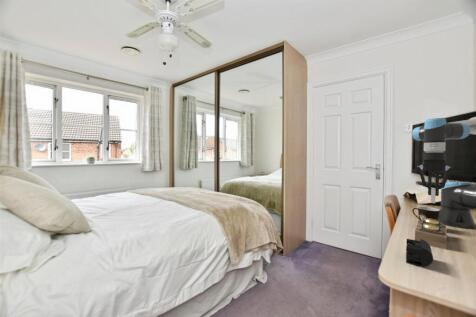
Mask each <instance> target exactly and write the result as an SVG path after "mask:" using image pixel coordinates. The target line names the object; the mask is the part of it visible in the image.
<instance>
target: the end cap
mask: <svg viewBox="0 0 476 317" xmlns="http://www.w3.org/2000/svg"><path fill="white" fill-rule="evenodd" d="M431 247H432V246H430V245H429V244H428V243H427V242H426V241H425V240H422V239H420V241H416V240H415V239H410V238H406V248H405V251H406V252H405V263H406V264H409V265H413V266H416V267H422V268H424V267H428V266H430V265H431V264H432V263H433V262H434V256H433V252H432V248H431Z"/></svg>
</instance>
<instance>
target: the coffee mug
mask: <svg viewBox="0 0 476 317" xmlns="http://www.w3.org/2000/svg"><path fill="white" fill-rule="evenodd" d="M415 210H417V212H418V213H417V214H418V215H417V214H416V213H415V212H414V211H415ZM439 211H440V209H438V208H436V207H432V206H431V207H429V206H417V207H413V208H412V213H413V215H414V216H415V217H416V218H417V219H418V220H419V221H422V220H425V218H431V219H436V220H438V216H439Z"/></svg>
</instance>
